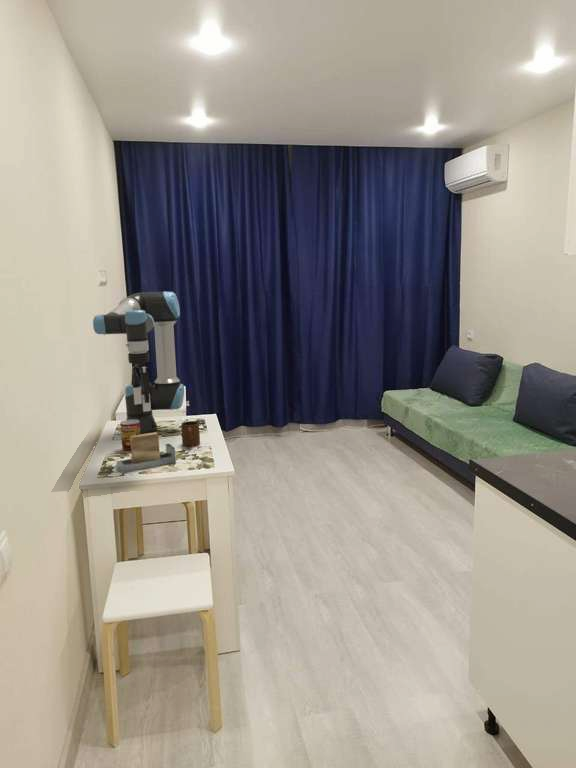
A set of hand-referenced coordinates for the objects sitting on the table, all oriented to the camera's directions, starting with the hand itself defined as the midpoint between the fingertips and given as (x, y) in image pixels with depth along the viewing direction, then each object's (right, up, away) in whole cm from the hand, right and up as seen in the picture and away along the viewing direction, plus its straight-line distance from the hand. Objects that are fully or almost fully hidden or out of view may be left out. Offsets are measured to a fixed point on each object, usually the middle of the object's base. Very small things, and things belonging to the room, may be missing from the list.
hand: (142, 407), depth 215 cm
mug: (+14, -18, +27) cm, 35 cm away
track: (+1, -22, +4) cm, 23 cm away
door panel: (+1, -22, +4) cm, 23 cm away
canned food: (-11, -19, +25) cm, 33 cm away
